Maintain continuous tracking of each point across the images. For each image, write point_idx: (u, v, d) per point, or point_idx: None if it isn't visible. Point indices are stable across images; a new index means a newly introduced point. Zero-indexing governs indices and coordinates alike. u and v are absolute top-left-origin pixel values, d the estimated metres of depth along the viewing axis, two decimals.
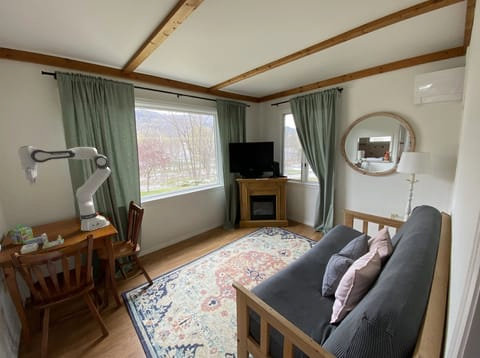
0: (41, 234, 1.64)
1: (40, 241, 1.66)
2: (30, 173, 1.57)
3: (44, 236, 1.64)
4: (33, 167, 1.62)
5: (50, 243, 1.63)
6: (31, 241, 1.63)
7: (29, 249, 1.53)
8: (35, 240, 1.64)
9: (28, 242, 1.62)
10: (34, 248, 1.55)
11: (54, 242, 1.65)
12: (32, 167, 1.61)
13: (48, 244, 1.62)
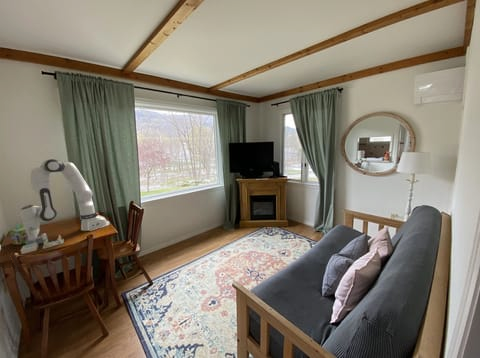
0: (41, 234, 1.64)
1: (40, 241, 1.66)
2: (32, 234, 1.57)
3: (44, 236, 1.64)
4: (35, 226, 1.62)
5: (50, 243, 1.63)
6: (31, 241, 1.63)
7: (29, 249, 1.53)
8: None
9: (28, 242, 1.62)
10: (34, 248, 1.55)
11: (54, 242, 1.65)
12: (34, 227, 1.61)
13: (48, 244, 1.62)
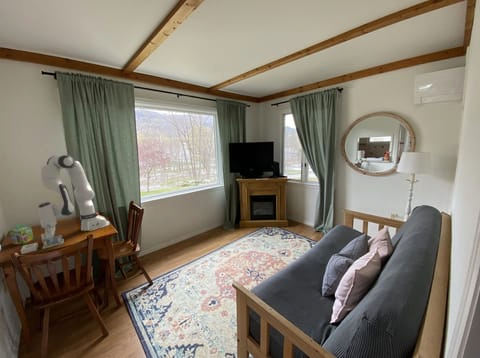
0: (41, 234, 1.64)
1: (57, 240, 1.64)
2: (50, 232, 1.54)
3: (44, 236, 1.64)
4: (52, 224, 1.59)
5: None
6: (48, 240, 1.60)
7: (29, 249, 1.53)
8: None
9: None
10: (34, 248, 1.55)
11: None
12: (52, 224, 1.59)
13: None
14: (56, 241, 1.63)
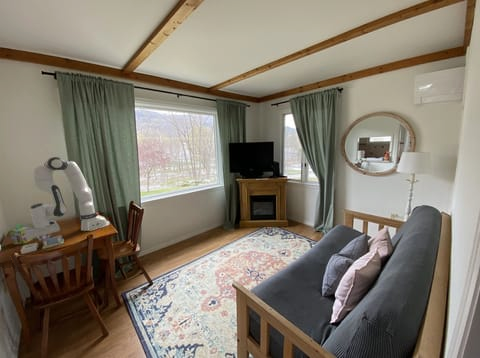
0: None
1: (57, 240, 1.64)
2: (25, 234, 1.56)
3: (44, 236, 1.64)
4: (35, 227, 1.59)
5: None
6: (48, 240, 1.60)
7: (29, 249, 1.53)
8: (52, 239, 1.62)
9: None
10: (34, 248, 1.55)
11: None
12: (35, 227, 1.59)
13: None
14: (56, 241, 1.63)
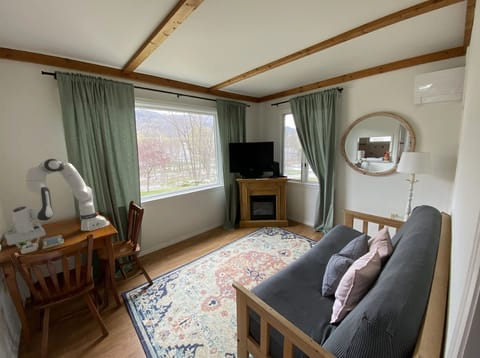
0: None
1: (57, 240, 1.64)
2: (7, 239, 1.46)
3: (28, 242, 1.54)
4: (18, 232, 1.49)
5: None
6: (48, 240, 1.60)
7: (29, 249, 1.53)
8: (52, 239, 1.62)
9: None
10: (34, 248, 1.55)
11: None
12: (17, 231, 1.49)
13: None
14: (56, 241, 1.63)
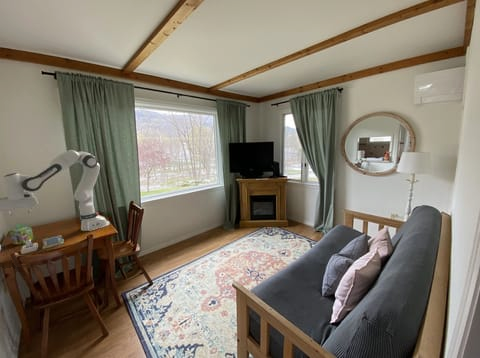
0: None
1: (57, 240, 1.64)
2: None
3: (28, 242, 1.54)
4: (8, 198, 1.44)
5: None
6: (48, 240, 1.60)
7: (29, 249, 1.53)
8: (52, 239, 1.62)
9: None
10: (34, 248, 1.55)
11: None
12: (7, 198, 1.44)
13: None
14: (56, 241, 1.63)
